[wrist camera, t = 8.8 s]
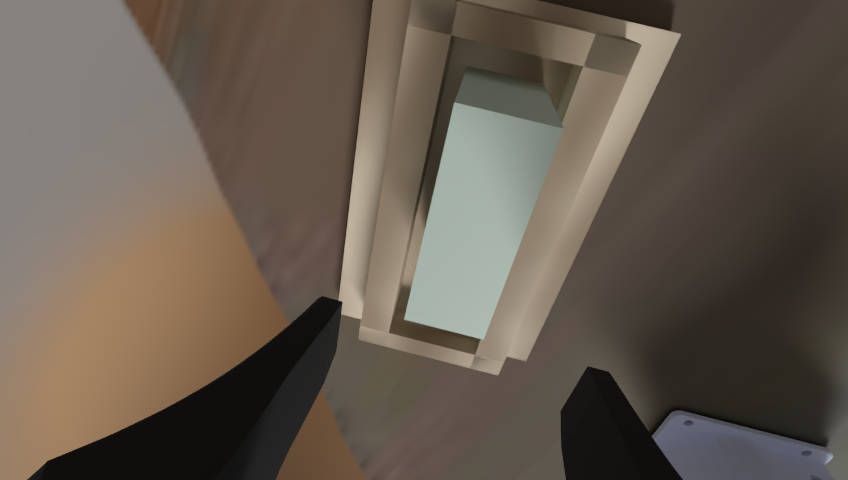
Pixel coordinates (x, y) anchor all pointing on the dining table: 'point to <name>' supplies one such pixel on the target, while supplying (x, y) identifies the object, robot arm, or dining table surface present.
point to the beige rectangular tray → (425, 138)
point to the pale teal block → (482, 199)
